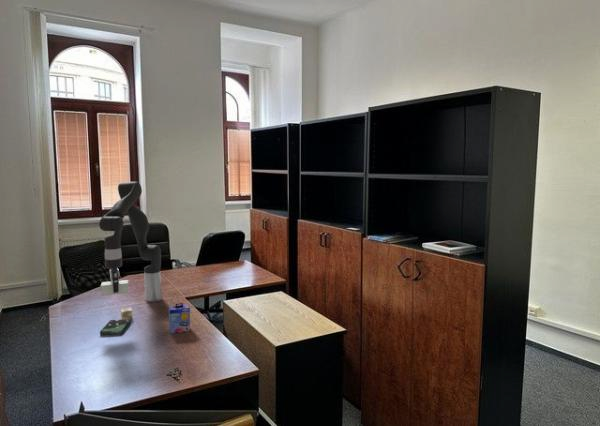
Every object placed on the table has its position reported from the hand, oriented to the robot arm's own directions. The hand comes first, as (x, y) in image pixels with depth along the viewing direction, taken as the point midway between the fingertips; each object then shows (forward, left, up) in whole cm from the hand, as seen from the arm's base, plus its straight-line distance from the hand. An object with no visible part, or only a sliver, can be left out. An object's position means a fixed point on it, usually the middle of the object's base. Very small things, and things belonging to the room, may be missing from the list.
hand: (115, 290), depth 208 cm
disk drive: (0, -1, -21) cm, 21 cm away
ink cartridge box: (-27, +16, -20) cm, 37 cm away
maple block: (-6, -13, -20) cm, 25 cm away
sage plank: (0, 0, -1) cm, 1 cm away
